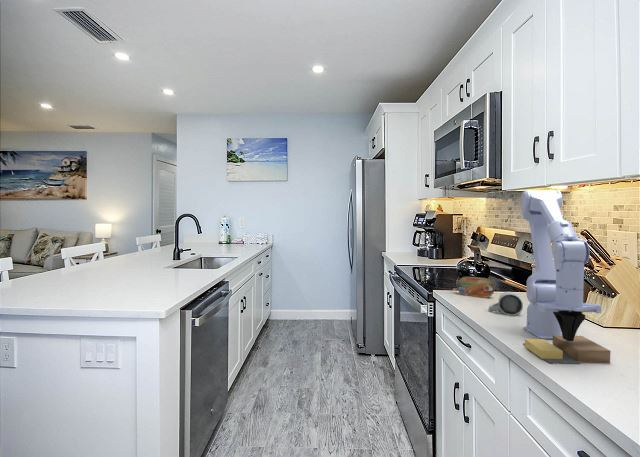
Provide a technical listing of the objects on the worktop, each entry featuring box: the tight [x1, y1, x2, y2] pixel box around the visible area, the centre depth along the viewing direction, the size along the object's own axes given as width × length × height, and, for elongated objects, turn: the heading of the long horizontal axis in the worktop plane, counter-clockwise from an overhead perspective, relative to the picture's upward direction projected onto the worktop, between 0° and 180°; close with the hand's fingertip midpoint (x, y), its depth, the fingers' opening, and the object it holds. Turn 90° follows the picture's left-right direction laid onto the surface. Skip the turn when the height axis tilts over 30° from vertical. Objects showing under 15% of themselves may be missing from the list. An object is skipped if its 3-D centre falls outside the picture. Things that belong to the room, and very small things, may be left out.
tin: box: [456, 276, 496, 299], centre depth 149 cm, size 15×3×8 cm, turn 55°
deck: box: [552, 335, 612, 364], centre depth 88 cm, size 10×8×3 cm
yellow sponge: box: [524, 338, 563, 360], centre depth 89 cm, size 8×5×2 cm, turn 176°
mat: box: [522, 342, 581, 365], centre depth 89 cm, size 12×7×1 cm, turn 176°
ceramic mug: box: [488, 291, 524, 317], centre depth 125 cm, size 11×8×8 cm
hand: (568, 339), depth 88 cm, fingers closed
